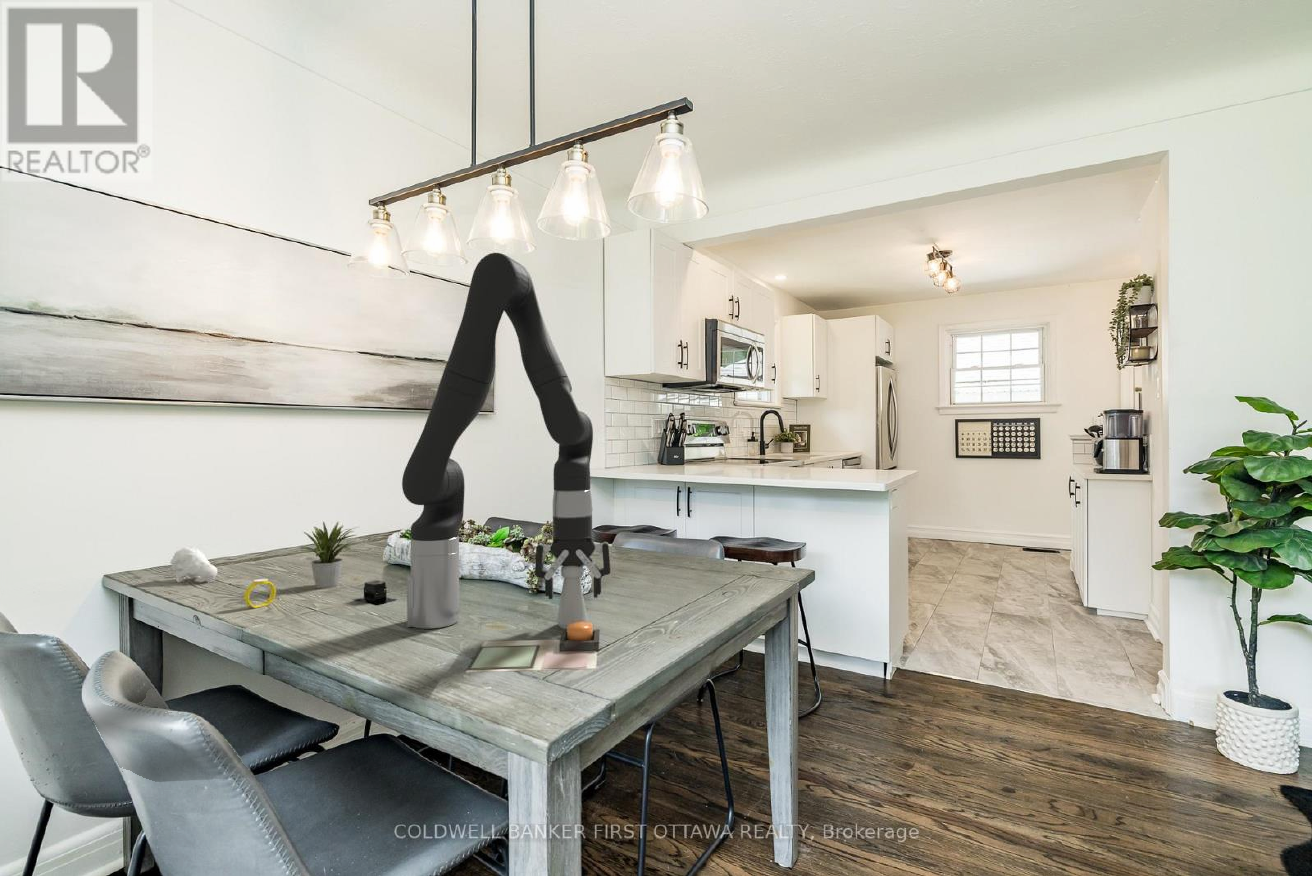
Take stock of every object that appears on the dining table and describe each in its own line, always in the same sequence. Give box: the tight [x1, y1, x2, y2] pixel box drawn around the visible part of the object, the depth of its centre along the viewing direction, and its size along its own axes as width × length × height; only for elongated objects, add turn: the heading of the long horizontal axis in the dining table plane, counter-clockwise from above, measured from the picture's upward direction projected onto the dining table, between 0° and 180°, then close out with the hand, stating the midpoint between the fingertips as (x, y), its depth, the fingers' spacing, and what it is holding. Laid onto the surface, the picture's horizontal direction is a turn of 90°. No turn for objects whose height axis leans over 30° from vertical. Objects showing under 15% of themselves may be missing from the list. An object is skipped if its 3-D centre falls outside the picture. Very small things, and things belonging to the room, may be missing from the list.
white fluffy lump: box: [170, 546, 218, 584], centre depth 156 cm, size 6×8×12 cm
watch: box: [243, 578, 277, 609], centre depth 133 cm, size 6×3×6 cm, turn 153°
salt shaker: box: [556, 565, 588, 630], centre depth 116 cm, size 6×6×13 cm
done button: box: [566, 621, 594, 641], centre depth 105 cm, size 4×4×2 cm
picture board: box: [465, 629, 600, 674], centre depth 100 cm, size 22×16×3 cm
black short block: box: [352, 579, 398, 606], centre depth 138 cm, size 12×7×5 cm, turn 60°
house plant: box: [298, 521, 362, 589], centre depth 150 cm, size 14×14×16 cm
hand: (573, 597), depth 115 cm, fingers open, 8 cm apart
